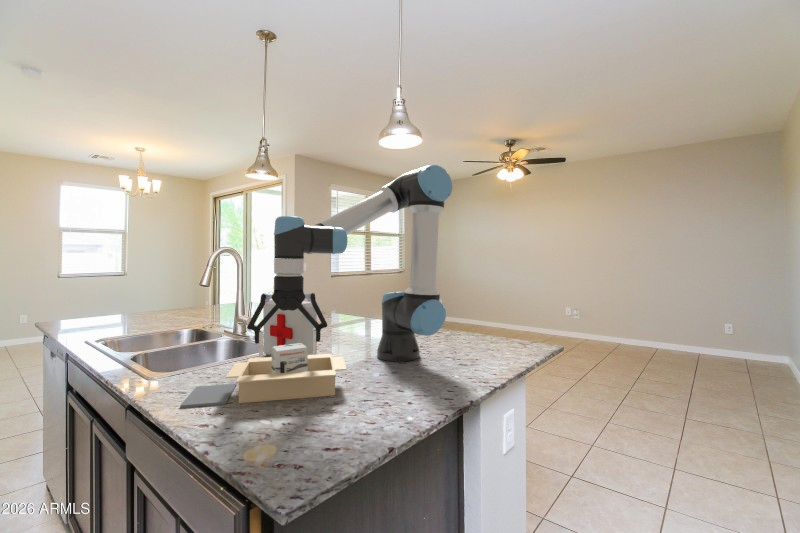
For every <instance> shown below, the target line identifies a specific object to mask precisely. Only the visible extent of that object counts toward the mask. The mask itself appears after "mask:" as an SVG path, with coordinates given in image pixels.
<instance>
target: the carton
mask: <svg viewBox="0 0 800 533" xmlns="http://www.w3.org/2000/svg"><path fill="white" fill-rule="evenodd" d="M332 354H333V353H317V354H316V355H308V371H307V372H292V373H277V374H271V368H272V366H271V365H272V356H268V357H267V356H266V357H265V356H264V357H263V356H262V357H250V358H248V359H247V361H246V362H234V364H233V366H232V367H231V369H230V370H229V371H228V373H227V375H226V376H225V379H235V378H237V379H236V381H235V384H238V404H247V403H255V402H256V403H257V402H259V403H260V402H268V401H269V402H270V401H282V400H283V401H284V400H294V399H306V398H307V399H308V398H317V397H318V398H320V397H330V396H336V376H337V371H338V372H339V371H347V366H346V362H345V359H344V357H343V356H333V355H332Z"/></svg>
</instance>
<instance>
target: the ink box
mask: <svg viewBox="0 0 800 533" xmlns="http://www.w3.org/2000/svg"><path fill="white" fill-rule="evenodd" d="M271 357H272V365H271V366H272V368H271V374H277V373H292V372H307V371H308V347H306V346H305V345H304V344H302V343H296V344H289V345H281V346H274V347H272V356H271Z"/></svg>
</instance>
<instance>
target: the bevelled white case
mask: <svg viewBox="0 0 800 533" xmlns="http://www.w3.org/2000/svg"><path fill="white" fill-rule="evenodd" d="M301 304H302V305H303V306H304V307H305V309H306V310H307V311H308V312H309V313H310V314H311V315H312V317H313V318H314V319H315V320H316V321H317V318H318V315H317V313H316V311H315V309H314V308H313V306H312V303H311V302H309V301H306V300H304V301H303V302H302V303H301ZM275 305H276V304H275V302H274V301H273V300H272V299H270V300H269V301H268V302H266V303H265V305H264V307H263V309H262V311H263V314H262V315H263V318H264V317H265V316H266V315H267V314H268V313H269V312H270V311H271V309H272V308H273V307H274V306H275ZM317 322H318V321H317ZM313 329H316V328H315V327H314V326H313V325H312V324H311V323H310V322H309V320H308V319H307V318H306V317H305V316H304V315H303V314H302V312H300V310H299V309H298V308H297V309H296V310H292V311H291V310H286V311H282V310H280V309H278V310H277V311H276V312H275V313H274V315H273V316H272V317H271V318H270V319H269V320H268V321H267V322H266V324H265V325H264V326H263V354H264V355H266V356H268V357H272V347H274V346H281V345H289V344H296V343H302V344H304V345H305V346H306V347H308V355H313ZM317 344H318V342H316V354H318V352H317V350H318V346H317Z"/></svg>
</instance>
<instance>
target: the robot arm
mask: <svg viewBox="0 0 800 533" xmlns="http://www.w3.org/2000/svg"><path fill="white" fill-rule="evenodd" d="M452 192H453V181H452V178H451V176H450V174H449V173H448V172H447V170H446V169H445V168H444V167H442V166H441V165H438V164H430V165H424V166H422V167H419V168H417V169H413V170H411V171H407V172H405V173H403V174H402V175H401V174H400V176H398V177H396V178H395V179H394V180H391V181H390V182H389V183H387V184H385V185H383V186H382V187H380V189H379V191H378V192H377V193H375V194H372V195H370V196H368V197H367V198H364V199H363V200H361V201H358V202H357V203H355V204H353V205H351V206H349V207H347V208H346V209H344V210H342V211H339V212H337V213H335V214H334V215H332V216H330V217H328V218H325V219H324V220H322V221H320V222H318V223H317V224H314V225H308V224H306V223H305V219H304V218H303V217H300V216H291V215H281V216H278V217H276V219H275V221H274V232H273V235H274V238H273V239H274V246H273V247H274V256H273V257H274V259H273V262H274V263H273V273H274V274H275V276H274V277H273V294H269V293H266V292H264V293H262V294H261V295H260V301H259V304H258V305H257V308H256V309H255V312H254V313H253V315H252V316H251V319H250V320H249V322H248V323H247V326H246V327H247V330H249V331H253V332H254V344H256V345H258V358H263V356H264V329H262V328H264V325H265V324H266V322H267V321H268V320H269V319H270V318H271V317H272V316H273V315H274V313H275V312H276V311H277V310H278V309H280V310H282V311H286V310H291V311H292V310H296V309H297V308H298V309H299V310H300V312H302V314H303V315H304V316H305V317H306V318H307V319H308V320H309V322H310V323H311V324H312V325H313V326H314V327H315V328H316V329H313V355H316V342H317V343H319V342H320V341H321V332H322V331H321V330H322V329H324V328H327V327H328V322H327V320H326V319H325V318H326V317H324V315H323V312H322V311H321V308H320V307H319V304H318V302H317V300H316V294H315V293H314V292H311V293H305V292H304V276H303V274H304V269H305V268H304V265H305V254H307V255H312V254H320V255H321V254H325V255H326V254H328V255H329V254H330V255H331V254H332V255H335V254H336V255H337V254H340V255H341V254H344V253H345V251H346V250H347V246H348V235H350V234H351V233H353V232H355V231H357V230H359V229H361V228H363V227H364V226H367V225H368V224H370V223H372V222H373V221H375V220H377V219H379V218H381V217H383V216H385V215H387V214H388V213H396V212H398V211H400V210H402V209H405V208H408V210H410V212H411V214H412V219H411V220H412V221H411V222H412V223H411V239H410V242H411V243H410V258H409V259H410V261H409V264H410V265H409V281H408V287H407V288H406V289H405V290H404V291H395V292H386V293H384V294H383V295H382V298H381V322H382V323H381V330H382V331H381V332H382V333H381V337H380V340H379V343H378V346H377V350H376V351H377V352H376V357H377V358H378V359H380V360H382V361H386V362H396V363H397V362H410V361H414V360H417V359H418V358H420V352H421V351H420V347H419V343H418V341H417V338H416V335H419V336H424V337H429V336H432V335H436V334H437V333H438V332H439V331H440V330H441V329H442V328H443V326H444V325H445V322H446V318H447V311H446V307H445V306H444V304H443V302H441V301H440V299H441V298H440V297H441V296H440V295H441V292H439V291H438V290H437V288H436V282H437V265H438V264H437V263H438V246H439V244H438V240H439V237H438V236H439V221H440V215H441V213H442V212H443V211H444V210H445V201H446V200H447V199H449V197H451V195H452ZM270 299H272V300H273V301H274V302H275V304H276V305H275V306H274V307H273V308H272V309H271V311H270V312H269V313H268V314H267V315H266V316H265V317H264V318H263V319H262V320H261V321H259V323H258V324H256V322H257V320H258V318H259V317H260V314H261V313H262V311H263V307H264V305H265V303H266V302H268V301H269V300H270ZM305 299H307V302H311V303H312V306H313V308H314V309H315V311H316V313H317V318H318V319H319V321H320V323H319V322H318V321H316V320H315V319H314V318H313V317H312V315H311V314H310V313H309V312H308V311H307V310H306V309H305V307H304V306H303V305H302V304H301V303H302V302H303V301H305Z"/></svg>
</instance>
